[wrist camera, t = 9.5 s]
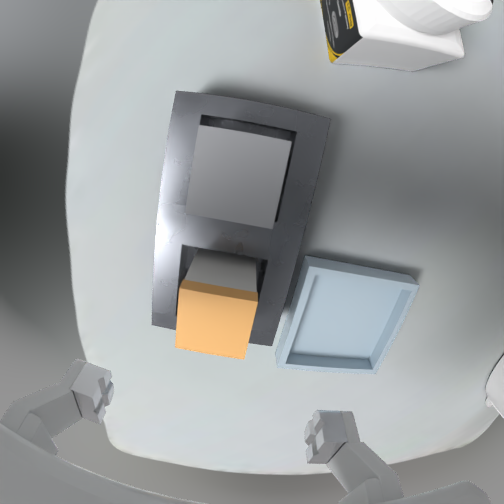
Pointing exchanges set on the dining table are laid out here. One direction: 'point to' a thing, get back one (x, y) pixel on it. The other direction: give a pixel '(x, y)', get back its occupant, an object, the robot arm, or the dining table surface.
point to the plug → (217, 304)
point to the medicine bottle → (399, 31)
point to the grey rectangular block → (237, 176)
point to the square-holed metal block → (226, 232)
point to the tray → (343, 317)
